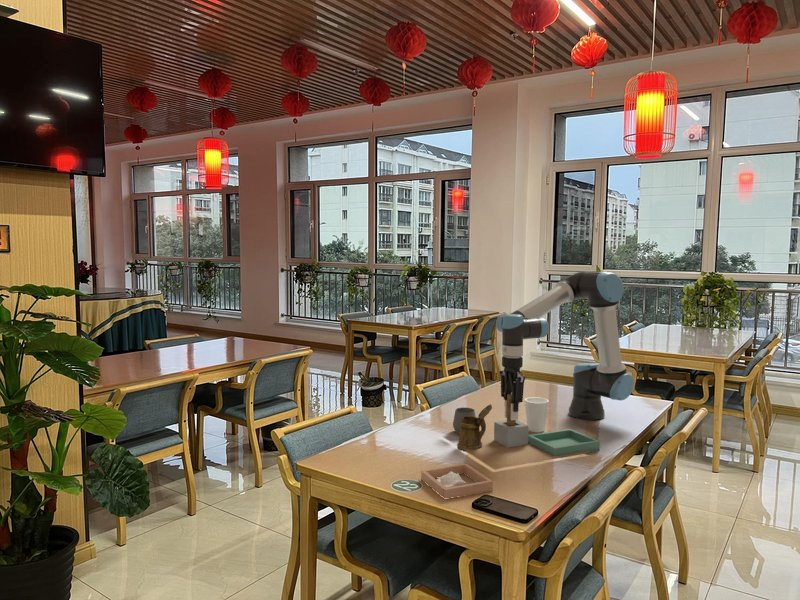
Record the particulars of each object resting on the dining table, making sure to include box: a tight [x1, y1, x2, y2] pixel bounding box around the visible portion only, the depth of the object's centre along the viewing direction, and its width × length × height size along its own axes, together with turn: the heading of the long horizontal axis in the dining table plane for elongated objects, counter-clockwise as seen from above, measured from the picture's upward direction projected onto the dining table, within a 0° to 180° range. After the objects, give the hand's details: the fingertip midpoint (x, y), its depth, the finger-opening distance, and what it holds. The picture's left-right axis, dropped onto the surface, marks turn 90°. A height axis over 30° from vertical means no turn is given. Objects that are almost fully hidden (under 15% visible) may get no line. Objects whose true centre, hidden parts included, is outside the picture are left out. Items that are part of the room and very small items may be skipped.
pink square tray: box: [420, 462, 494, 499], centre depth 179 cm, size 16×16×3 cm
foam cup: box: [524, 396, 550, 433], centre depth 232 cm, size 10×9×13 cm
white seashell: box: [436, 472, 467, 488], centre depth 179 cm, size 10×4×10 cm
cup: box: [452, 407, 477, 435], centre depth 228 cm, size 10×9×10 cm
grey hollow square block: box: [493, 419, 529, 448], centre depth 216 cm, size 9×9×8 cm
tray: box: [528, 428, 601, 458], centre depth 214 cm, size 20×16×4 cm
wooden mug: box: [456, 404, 493, 452], centre depth 211 cm, size 9×14×18 cm, turn 47°
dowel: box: [506, 393, 516, 426], centre depth 216 cm, size 3×3×18 cm
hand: (511, 418), depth 216 cm, fingers closed on dowel, 3 cm apart
